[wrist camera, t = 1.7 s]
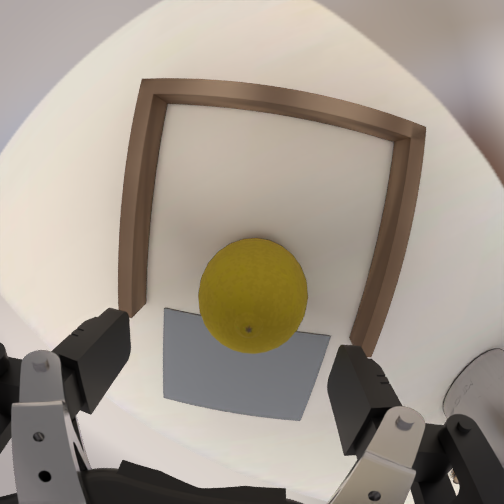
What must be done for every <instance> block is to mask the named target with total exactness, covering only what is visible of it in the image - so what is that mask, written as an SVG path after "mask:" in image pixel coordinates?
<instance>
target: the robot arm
mask: <svg viewBox="0 0 504 504" xmlns="http://www.w3.org/2000/svg"><path fill="white" fill-rule="evenodd" d="M130 351H131V342H130V326H129V315H128V313H127V312H125V311H121V310H117V309H112V308H108V309H107V310H106V311H104V312H103V313H102V314H101V315H100V316H99V317H94V318H92V319H89V320H87V321H85V322H83V323H82V324H81V325H80V326H79V327H78V328H77V329H76V330H74V331H73V332H72V333H71V335H69V336H68V337H67V338H65V339H64V340H63V341H62V342H61V343H60V344H59V345H58V346H57V347H56V348H55V349H53V350H52V351H46V350H38V351H34V352H31V353H29V354H28V355H26V356H25V357H24V358H23V360H22V359H16V358H11V357H8V356H7V353H6V350H5V347H4V345H3V344H2V343H0V453H1V452H2V450H3V449H4V447H5V446H6V444H7V443H8V441H9V440H10V439H11V437H12V454H13V465H14V475H15V482H16V489H17V493H14V494H10V495H6V496H2V497H0V504H303V503H300V502H297V501H294V500H291V499H286V489H285V488H265V487H251V486H240V487H226V488H198V487H195V486H192V485H190V484H188V483H185V482H183V481H181V480H178V479H176V478H174V477H172V476H170V475H168V474H165V473H163V472H161V471H158V470H155V469H151V468H147V467H144V466H141V465H137V464H134V463H131V462H128V461H125V460H122V462H121V464H120V467H119V469H115V468H97V469H92V468H91V466H90V463H89V461H88V458H87V455H86V451H85V447H84V443H83V440H82V436H81V432H80V428H79V423H78V419H77V417H76V415H77V413H78V412H79V411H80V410H81V411H83V412H86V413H88V414H92V413H93V411H94V410H95V408H96V407H97V405H98V404H99V402H100V400H101V399H102V398H103V396H104V395H105V393H106V392H107V390H108V389H109V387H110V386H111V384H112V383H113V381H114V380H115V378H116V377H117V376H118V374H119V373H120V371H121V370H122V368H123V367H124V365H125V364H126V362H127V361H128V359H129V356H130ZM327 390H328V395H329V399H330V402H331V406H332V410H333V414H334V417H335V421H336V425H337V429H338V433H339V437H340V441H341V445H342V449H343V453H344V456H348V455H356V456H357V461H356V463H355V464H354V466H353V467H352V469H351V470H350V472H349V473H348V475H347V476H346V478H345V479H344V481H343V482H342V483H341V485H340V486H339V488H338V489H337V490H336V492H335V493H334V495H333V496H332V497H331V499H330V500H329V501H328V502H327V504H404V502H405V500H406V497H407V495H408V493H409V490H410V489H411V492H412V496H413V499H414V502H415V504H504V351H503V350H501V349H494V350H491V351H488V352H486V353H484V354H483V355H481V356H480V357H478V358H477V359H475V360H474V361H473V362H472V363H471V364H470V365H469V366H468V367H467V368H466V369H465V370H464V371H463V372H462V373H461V374H460V375H459V377H458V378H457V379H456V380H455V382H454V383H453V385H452V386H451V388H450V389H449V391H448V394H447V396H446V398H445V401H444V406H443V410H444V414H445V415H446V417H447V421H446V422H445V424H444V425H435V424H427V423H425V421H424V419H423V417H422V416H421V415H420V414H419V413H418V412H417V411H415V410H414V409H411V408H408V407H404V406H402V405H401V403H400V401H399V399H398V397H397V395H396V393H395V392H394V390H393V388H392V386H391V384H389V381H388V379H387V377H385V374H384V372H383V370H382V368H381V367H380V366H379V365H378V364H377V363H376V362H375V361H373V360H372V359H368V358H367V356H366V354H365V353H364V351H363V349H362V347H361V346H356V345H341V346H340V347H339V349H338V352H337V355H336V358H335V361H334V364H333V367H332V369H331V372H330V375H329V379H328V385H327ZM452 468H453V470H454V472H455V475H456V477H457V479H458V482H459V485H460V489H459V493H458V495H457V496H456V494H455V491H454V489H453V486H452V484H451V481H450V479H449V477H448V474H447V473H448V472H449V471H450V470H451V469H452Z"/></svg>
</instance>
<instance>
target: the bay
mask: <svg viewBox="0 0 504 504" xmlns="http://www.w3.org/2000/svg"><path fill="white" fill-rule="evenodd" d="M167 104H188V105H204V106H216V107H227V108H236V109H244V110H252V111H260V112H266V113H273V114H279V115H285V116H291V117H296V118H301V119H307V120H311V121H316V122H321V123H325V124H330V125H334V126H338V127H342V128H347V129H350V130H354V131H358V132H362V133H365V134H369V135H373V136H376V137H379V138H383V139H386V140H389V141H392V142H394V149H393V156H392V164H391V170H390V177H389V183H388V189H387V194H386V200H385V205H384V210H383V215H382V220H381V225H380V230H379V234H378V239H377V243H376V247H375V251H374V256H373V260H372V264H371V267H370V271H369V275H368V279H367V282H366V286H365V289H364V293H363V296H362V300H361V303H360V306H359V310H358V313H357V316H356V319H355V322H354V325H353V329H352V332H351V335H350V337H349V338H350V340H351V342H352V345H356V346H361V347H362V349H363V351H364V353H365V354H366V356H367V357H371V356H372V354H373V351H374V349H375V346H376V344H377V341H378V338H379V336H380V333H381V330H382V328H383V325H384V322H385V319H386V316H387V313H388V310H389V307H390V304H391V301H392V298H393V295H394V292H395V288H396V285H397V282H398V278H399V275H400V271H401V267H402V264H403V260H404V256H405V252H406V248H407V244H408V240H409V235H410V231H411V226H412V222H413V217H414V212H415V207H416V201H417V196H418V190H419V184H420V177H421V170H422V163H423V155H424V146H425V136H426V127H425V126H422V125H419V124H417V123H414V122H411V121H409V120H406V119H403V118H400V117H397V116H394V115H391V114H388V113H385V112H382V111H379V110H376V109H372V108H369V107H366V106H362V105H359V104H355V103H351V102H347V101H344V100H340V99H336V98H331V97H327V96H323V95H318V94H313V93H308V92H303V91H298V90H293V89H287V88H281V87H274V86H268V85H260V84H252V83H244V82H234V81H222V80H207V79H179V78H157V79H142V81H141V85H140V89H139V94H138V98H137V103H136V108H135V113H134V118H133V123H132V129H131V134H130V140H129V146H128V153H127V160H126V167H125V175H124V184H123V194H122V204H121V217H120V232H119V256H118V306H119V310H121V311H125V312H127V313H128V315H129V318H132V317H133V316H134V315H135V314H136V313H137V312H138V311H139V310H140V309H141V308H142V307H143V306H144V305H145V304H146V279H147V259H148V243H149V230H150V219H151V208H152V199H153V190H154V182H155V175H156V167H157V160H158V154H159V147H160V141H161V135H162V130H163V124H164V119H165V113H166V108H167Z"/></svg>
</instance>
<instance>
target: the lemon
mask: <svg viewBox="0 0 504 504" xmlns="http://www.w3.org/2000/svg"><path fill="white" fill-rule="evenodd" d="M198 298H199V309H200V314H201V316H202V319H203V322H204V324H205V326H206V328H207V329H208V331H209V332H210V333H211V335H212V336H213V337H214V338H215V339H216V340H217V341H219V342H220V343H221V344H222V345H224V346H226V347H228V348H230V349H232V350H234V351H238V352H241V353H250V354H256V353H263V352H267V351H270V350H272V349H275V348H278V347H279V346H281V345H282V344H284V343H285V342H287V341H288V340H289V339H290V338H291V336H292V335H293V334H294V333H295V332H296V331H297V329H298V327H299V325H300V323H301V321H302V319H303V317H304V315H305V310H306V305H307V300H308V293H307V282H306V279H305V276H304V273H303V271H302V268H301V266H300V264H299V263H298V262H297V260H296V259H295V258H294V256H293V255H292V254H291V253H290V252H289V251H287V250H286V249H285V248H284V247H282V246H281V245H279V244H276V243H274V242H272V241H270V240H265V239H259V238H251V239H242V240H239V241H236V242H233V243H231V244H229V245H228V246H226V247H225V248H223V249H221V250H220V251H219V252H218V253H217V254H216V255H215V256H214V257H213V258H212V259H211V261H210V262H209V263H208V265H207V267H206V269H205V271H204V273H203V275H202V278H201V282H200V288H199V294H198Z"/></svg>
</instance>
